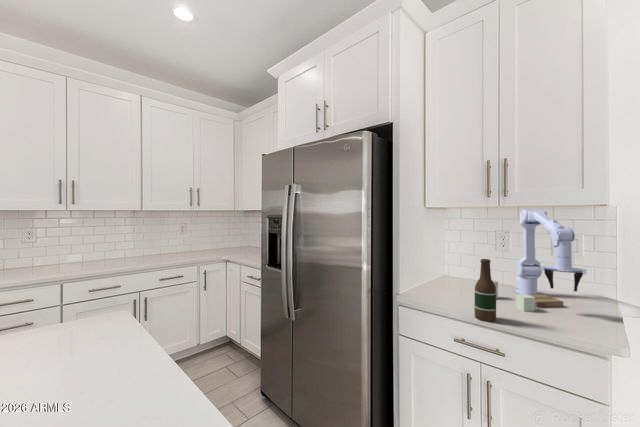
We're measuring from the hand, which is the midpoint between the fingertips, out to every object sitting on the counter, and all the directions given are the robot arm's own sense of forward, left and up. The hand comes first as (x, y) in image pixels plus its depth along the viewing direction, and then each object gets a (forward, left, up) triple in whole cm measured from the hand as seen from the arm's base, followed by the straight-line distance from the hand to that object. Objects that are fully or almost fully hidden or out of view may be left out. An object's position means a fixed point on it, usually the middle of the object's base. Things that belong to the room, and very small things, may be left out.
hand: (563, 289), depth 125 cm
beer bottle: (+3, -35, -11) cm, 37 cm away
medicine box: (-25, -17, -11) cm, 32 cm away
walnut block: (-15, +2, -11) cm, 18 cm away
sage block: (-7, -11, -11) cm, 17 cm away
